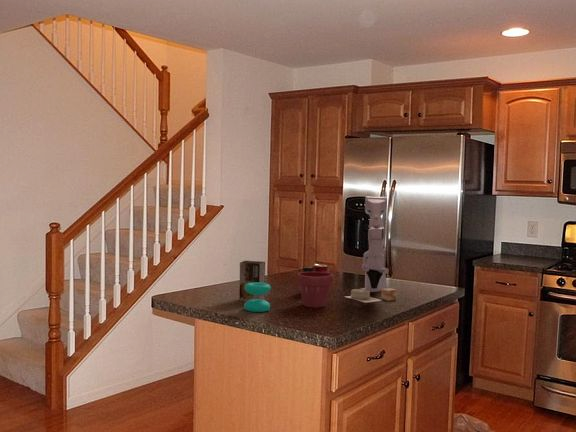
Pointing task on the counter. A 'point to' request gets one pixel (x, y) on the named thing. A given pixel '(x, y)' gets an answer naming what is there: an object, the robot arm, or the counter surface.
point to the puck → (360, 294)
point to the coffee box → (251, 278)
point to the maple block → (388, 294)
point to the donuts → (257, 304)
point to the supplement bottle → (307, 269)
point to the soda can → (320, 268)
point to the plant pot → (314, 288)
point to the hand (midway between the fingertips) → (374, 288)
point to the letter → (366, 299)
